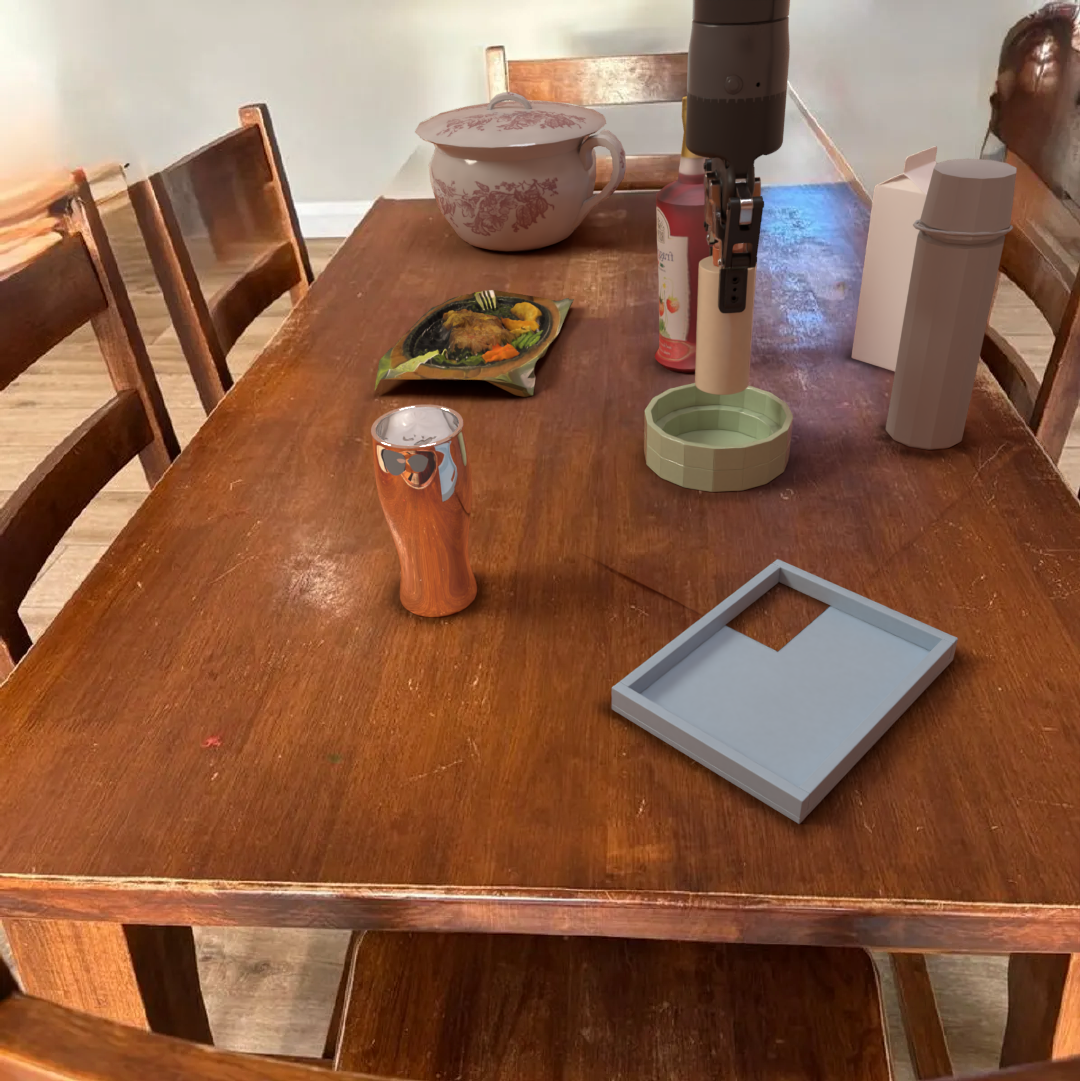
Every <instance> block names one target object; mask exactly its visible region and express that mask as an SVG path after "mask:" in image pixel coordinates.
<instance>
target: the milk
mask: <svg viewBox="0 0 1080 1081" xmlns="http://www.w3.org/2000/svg"><path fill="white" fill-rule="evenodd" d="M937 153H938V146H937V145H934V146H931V147H929V148H926V149H923V150H920V151H918V152H915V153H912V154H910V155H908V156H906V157H905V160H904V165H903V171H902V173H900V174H898V175H895V176H893V177H891V178H889V179H886V180H884V181H882V182H880V183H878V184H876V185H874V188H873V196H872V202H871V203H872V204H871V211H870V218H869V225H868V233H867V240H866V246H865V247H866V248H865V253H864V254H865V256H864V263H863V268H862V275H861V283H860V291H859V298H858V307H857V313H856V320H855V327H854V334H853V342H852V350H851V359H853V360H855V361H856V360H857V361H860V362H863V363H866V364H869V365H871V366H876V367H879V368H882V369H886V370H889V371H892V372H894V373H895V369H896V363H897V357H898V351H899V344H900V338H901V332H902V326H903V320H904V314H905V308H906V302H907V296H908V290H909V284H910V278H911V272H912V266H913V259H914V253H915V247H916V241H917V236H918V233H919V231H920V230H918V229H915V227H914V226H913V223H914V222H915V221H916V220H919V219H921V215H922V211H923V207H924V203H925V200H926V196H927V192H928V188H929V184H930V181H931V177H932V173H933V169H934V167H935V165H936V163H938V162H937V161H936V160H937ZM917 225H918V224H917Z"/></svg>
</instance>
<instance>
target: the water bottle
mask: <svg viewBox="0 0 1080 1081" xmlns="http://www.w3.org/2000/svg"><path fill="white" fill-rule="evenodd" d="M1017 169H1018V168H1017V167H1016V166H1014V165H1013V164H1010V163H1007V162H1003V161H999V160H993V159H986V158H985V159H984V158H957V159H956V158H955V159H946V160H943V161H940V162H937V163H936V165H935V167H934V169H933V173H932V177H931V181H930V184H929V188H928V192H927V196H926V200H925V203H924V207H923V211H922V215H921V219H919V220H916V221H915V222H914V223H913V226H914V227H915V229H918V230H920V231H919V233H918V236H917V241H916V247H915V253H914V259H913V266H912V272H911V278H910V284H909V290H908V296H907V302H906V308H905V314H904V320H903V326H902V332H901V338H900V344H899V351H898V357H897V363H896V369H895V372H894V376H893V381H892V388H891V394H890V399H889V406H888V412H887V418H886V423H885V432H886V433H887V434H888V435H889V436H890V437H891V438H892V440H893V441H895V442H897V443H900V444H902V445H904V446H906V447H909V448H913V449H919V450H920V449H921V450H926V451H932V450H944V449H949V448H952V447H953V446H956V445H957V444H959V443H961V442H962V441H963V437H964V431H965V427H966V422H967V417H968V413H969V408H970V403H971V400H972V394H973V390H974V385H975V381H976V377H977V372H978V367H979V361H980V357H981V352H982V347H983V343H984V338H985V333H986V329H987V324H988V319H989V314H990V311H991V305H992V300H993V296H994V291H995V286H996V281H997V276H998V273H999V269H1000V264H1001V258H1002V254H1003V249H1004V245H1005V241H1006V235H1008V233H1010V232H1011V231H1012V230H1013V229H1014V226H1013V225H1012V224H1011V221H1012V213H1013V205H1014V196H1015V190H1016V189H1015V188H1016V187H1015V186H1016V179H1017V172H1018V170H1017ZM917 224H918V225H917Z"/></svg>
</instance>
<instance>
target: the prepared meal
mask: <svg viewBox="0 0 1080 1081" xmlns="http://www.w3.org/2000/svg"><path fill="white" fill-rule="evenodd" d="M574 301H575V299H574V298H572V299H570V298H569V297H566V298H563V299H560V300H553V299H551V298H546V297H541V296H535V295H527V294H521V293H515V292H510V291H509V292H508V291H503V290H498V289H497V290H495V289H489V290H482V291H478V292H477V291H474V292H472V293H466V294H463V295H459V296H455V297H452V298H448V299H447V300H445V301H444V302H442V303H441V304H438V305H436V306H432V307H431V308H430V309H428V311H427V312H425V313H424V314H423V315H421V317H420V318H419V319H418V320H417V321H416V322H415V323H413V325H412V326H411V327H410V328H409V329H408V330H407V331H406V332H405V333H404V334H403V335H402V337H400V338H399V339H398V340H397V341H396V343H395V345H394V346H392V347H390V348H389V350H387V352H386V353H384V355H383V356H381V357H380V359H378V367H377V372H376V379H375V385H374V391H373V392H375V391H376V389H377V388H378V385H379V383H380V382H381V381H382V380H439V381H448V380H450V381H462V380H465V381H467V380H468V381H469V380H470V381H471V380H472V381H485V382H488V383H490V384H492V385H493V386H496V387H498V388H500V389H502V390H504V391H506V392H508V393H510V394H512V395H514V396H516V397H522V398H526V397H531V396H534V389H535V384H536V375H535V367H536V363H537V361H538V360H539V359H541V358H543V357H544V356H545V355H546V353H547V351H548V349H549V347H550V345H551V344H552V342H554V341H555V340H556V338H557V337H558V335H559V333H560V332H561V329H562V326H563V323H564V322H565V319H566V317H567V315H568V313H569V310H570V308H571V307H572V305H573V303H574Z"/></svg>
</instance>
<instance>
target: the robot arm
mask: <svg viewBox="0 0 1080 1081" xmlns="http://www.w3.org/2000/svg"><path fill="white" fill-rule="evenodd" d="M790 6H791V0H692V15H691V16H692V17H691V18H692V21H691V29H690V30H691V31H690V36H689V43H688V51H687V72H686V73H687V75H686V96H687V109H686V147H687V149H688V150H689V151H690V152H691V153H693V154H695V155H698V156H701V157H706V158H707V159H705V163H704V164H703V168H704V169H705V173H704V188H705V204H704V216H705V221H704V223H703V226H704V227H705V232H708V233H707V235H706V241H707V242H708V245H714V244H715V243H718V242H719V259H718V265H719V289H718V308H719V310H720V312H721V313H740V312H743V311H744V310H745V308H746V294H747V278H748V268H755V266H756V263H757V264H758V251H759V243H760V236H761V227H762V220H763V211H764V208H765V201H764V198H763V195H762V180H761V177H760V176H756V173H755V172H756V168H755V161H756V160H757V159H758V158H760V157H761V156H769V155H772V154H774V153H776V152H778V150H780V149H781V147H782V145H783V144H784V133H785V122H786V120H785V119H786V106H787V93H788V82H789V81H788V80H789V79H788V78H789V66H790V54H791V52H790V50H791V48H790V44H791V43H790V28H789V27H790V26H789V25H790V24H789V23H790V18H789V16H790ZM740 243H742V244H743V252H741V253H732V251H733V246H734V245H735V244H740ZM712 254H713V246H712V247H709V256H712Z"/></svg>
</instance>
